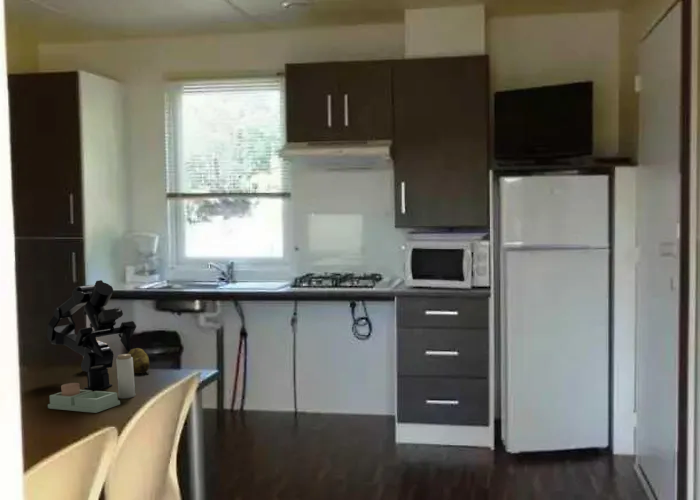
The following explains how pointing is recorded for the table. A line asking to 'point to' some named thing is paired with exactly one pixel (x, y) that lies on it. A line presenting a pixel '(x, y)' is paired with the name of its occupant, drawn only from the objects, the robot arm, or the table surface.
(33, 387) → the table surface
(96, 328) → the robot arm
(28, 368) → the table surface
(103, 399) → the spice stand
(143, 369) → the potato
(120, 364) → the spice jar
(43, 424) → the table surface
